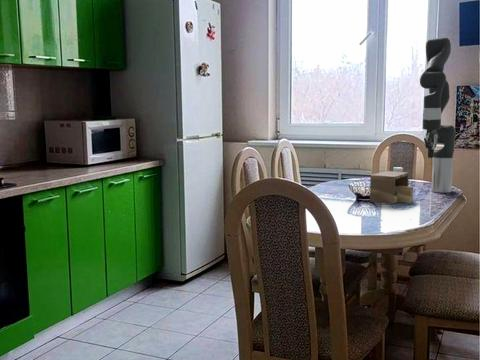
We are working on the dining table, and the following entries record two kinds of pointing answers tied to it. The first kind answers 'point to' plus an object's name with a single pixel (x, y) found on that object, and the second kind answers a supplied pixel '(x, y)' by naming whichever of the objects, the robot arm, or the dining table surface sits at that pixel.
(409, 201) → the tray
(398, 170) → the supplement bottle
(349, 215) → the dining table surface
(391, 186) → the brown cardboard box
